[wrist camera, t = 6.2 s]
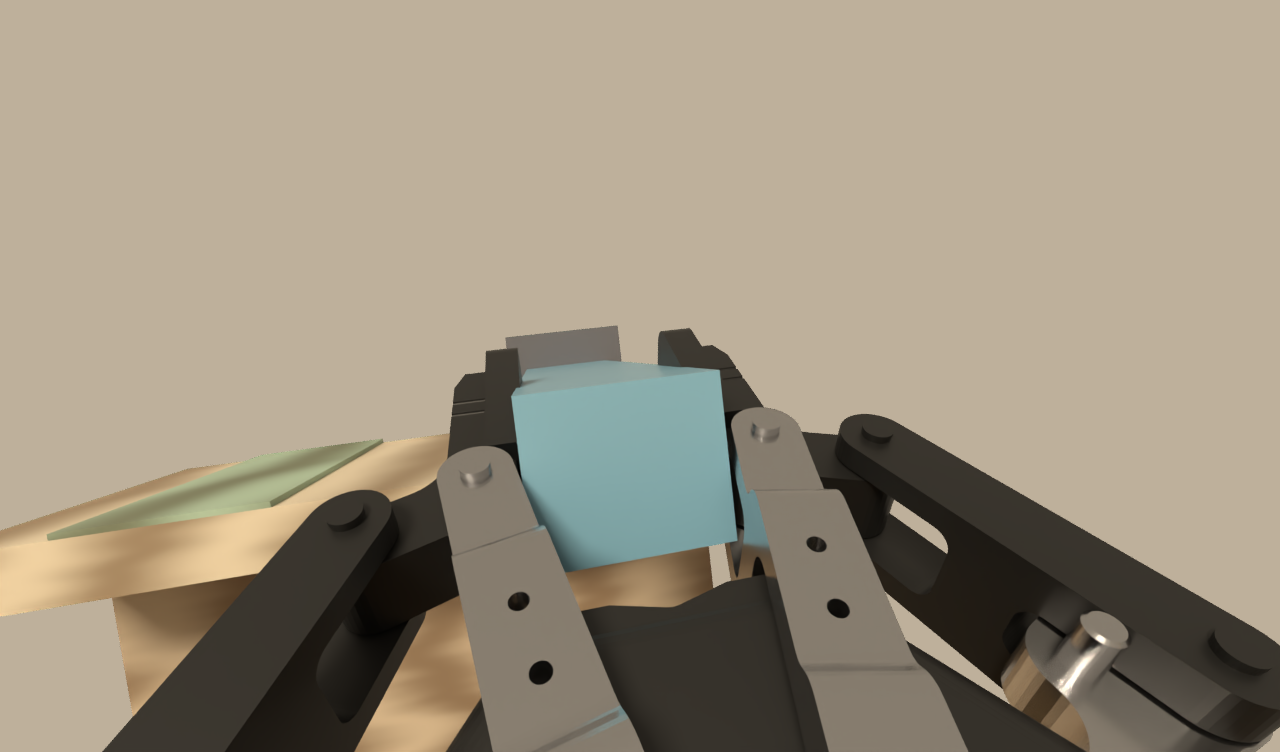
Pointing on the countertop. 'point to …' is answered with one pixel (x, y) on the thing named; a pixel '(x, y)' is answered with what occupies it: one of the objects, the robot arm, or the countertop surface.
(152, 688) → the wavy striped plinth
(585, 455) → the two-tone rectangular bar
